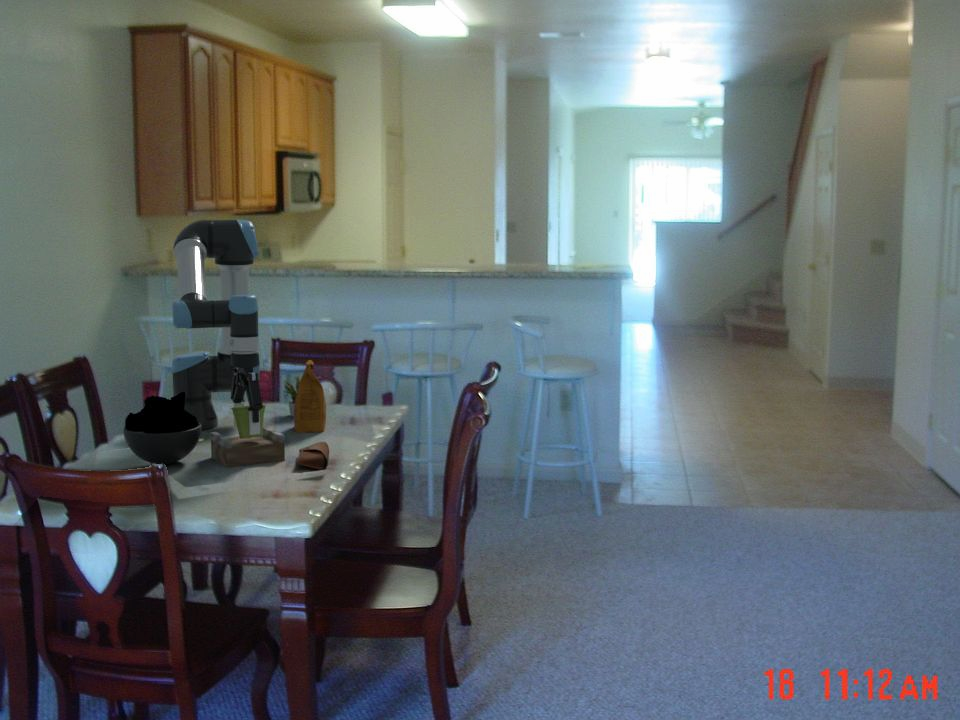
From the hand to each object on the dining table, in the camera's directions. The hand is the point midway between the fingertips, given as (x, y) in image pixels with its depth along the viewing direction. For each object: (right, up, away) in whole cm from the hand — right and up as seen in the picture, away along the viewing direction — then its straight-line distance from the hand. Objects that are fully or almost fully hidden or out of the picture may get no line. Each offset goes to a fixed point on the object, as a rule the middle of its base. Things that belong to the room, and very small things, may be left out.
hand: (247, 430), depth 276 cm
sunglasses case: (+17, -9, -4) cm, 19 cm away
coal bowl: (-21, -9, -5) cm, 23 cm away
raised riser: (0, -8, +1) cm, 8 cm away
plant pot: (+2, -2, -3) cm, 4 cm away
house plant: (+5, -1, +59) cm, 59 cm away
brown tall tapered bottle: (+11, -3, +40) cm, 41 cm away
